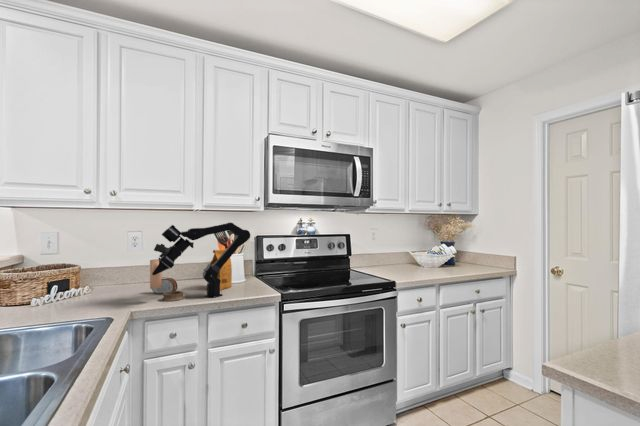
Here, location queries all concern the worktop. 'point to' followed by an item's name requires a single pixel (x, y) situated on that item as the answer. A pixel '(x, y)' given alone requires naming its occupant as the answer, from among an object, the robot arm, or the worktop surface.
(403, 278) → the worktop surface
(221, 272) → the coffee package
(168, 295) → the holder
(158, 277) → the canister
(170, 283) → the tin
